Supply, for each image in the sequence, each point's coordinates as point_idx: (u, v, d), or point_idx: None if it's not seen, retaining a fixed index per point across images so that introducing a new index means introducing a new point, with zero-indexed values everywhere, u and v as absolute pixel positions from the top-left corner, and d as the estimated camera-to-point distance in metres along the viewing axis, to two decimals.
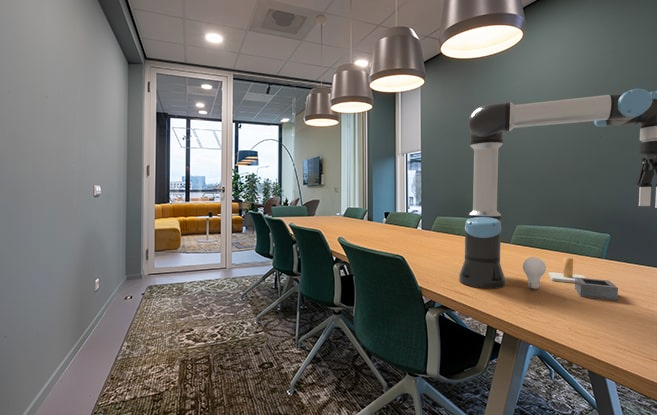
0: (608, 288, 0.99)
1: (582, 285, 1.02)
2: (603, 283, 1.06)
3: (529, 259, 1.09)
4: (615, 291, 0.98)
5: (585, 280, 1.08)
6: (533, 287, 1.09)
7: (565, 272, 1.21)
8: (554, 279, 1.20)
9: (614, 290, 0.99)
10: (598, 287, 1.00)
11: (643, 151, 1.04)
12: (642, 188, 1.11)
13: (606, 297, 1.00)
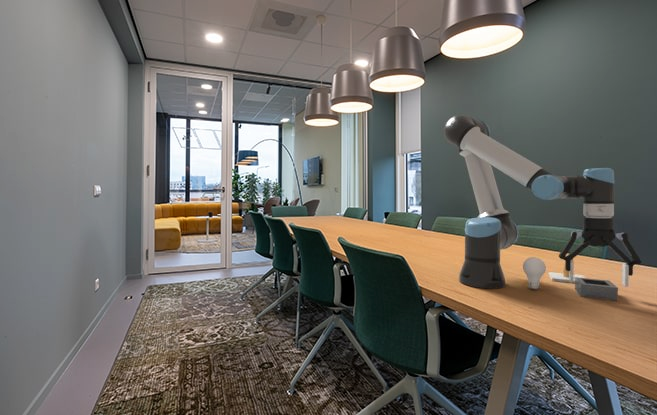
0: (608, 288, 0.99)
1: (582, 285, 1.02)
2: (603, 283, 1.06)
3: (529, 259, 1.09)
4: (615, 291, 0.98)
5: (585, 280, 1.08)
6: (533, 287, 1.09)
7: (565, 272, 1.21)
8: (554, 279, 1.20)
9: (614, 290, 0.99)
10: (598, 287, 1.00)
11: None
12: (623, 265, 1.01)
13: (606, 297, 1.00)
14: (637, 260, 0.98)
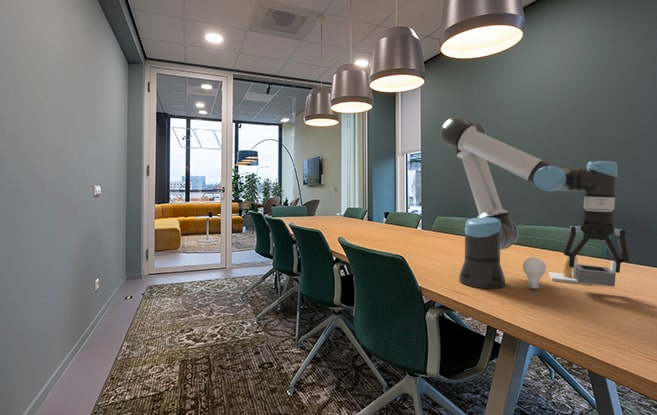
0: (606, 274, 0.99)
1: (580, 271, 1.02)
2: (601, 270, 1.06)
3: (529, 259, 1.09)
4: (613, 277, 0.99)
5: (583, 266, 1.08)
6: (533, 287, 1.09)
7: (565, 272, 1.21)
8: (554, 279, 1.20)
9: (612, 276, 0.99)
10: (596, 273, 1.01)
11: None
12: None
13: (603, 283, 1.00)
14: (625, 258, 1.00)
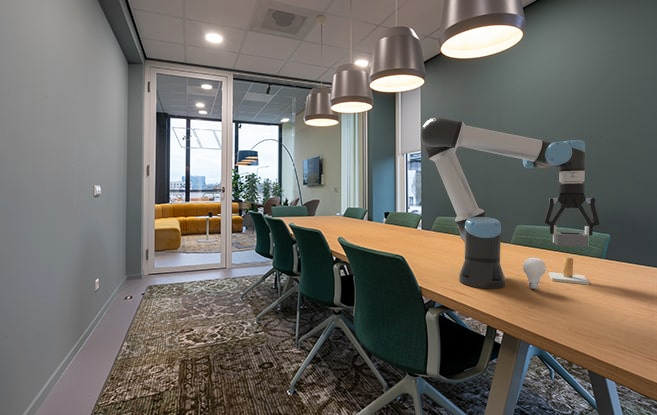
0: (580, 236, 1.16)
1: (558, 235, 1.19)
2: (577, 235, 1.22)
3: (529, 259, 1.09)
4: (586, 238, 1.15)
5: (562, 233, 1.24)
6: (533, 287, 1.09)
7: (565, 272, 1.21)
8: (554, 279, 1.20)
9: (585, 238, 1.15)
10: (572, 236, 1.17)
11: None
12: (585, 227, 1.19)
13: (578, 244, 1.16)
14: (596, 222, 1.16)
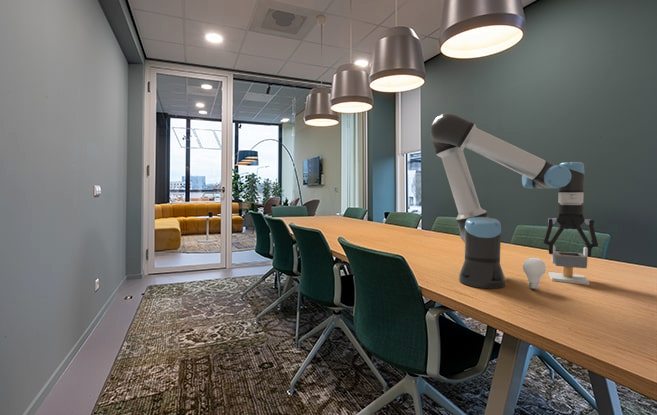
0: (579, 258, 1.16)
1: (557, 256, 1.19)
2: (576, 255, 1.23)
3: (529, 259, 1.09)
4: (585, 260, 1.16)
5: (561, 253, 1.25)
6: (533, 287, 1.09)
7: (565, 272, 1.21)
8: (554, 279, 1.20)
9: (584, 259, 1.16)
10: (570, 257, 1.18)
11: None
12: (583, 248, 1.20)
13: (577, 265, 1.17)
14: (595, 243, 1.17)
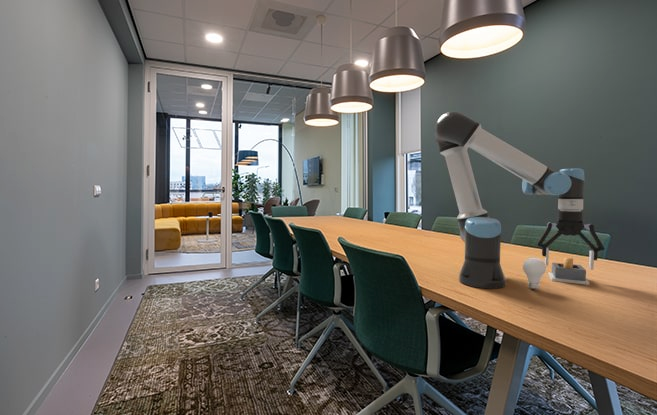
0: (578, 270, 1.17)
1: (556, 268, 1.20)
2: (575, 267, 1.23)
3: (529, 259, 1.09)
4: (584, 273, 1.16)
5: (560, 265, 1.25)
6: (533, 287, 1.09)
7: None
8: (554, 279, 1.20)
9: (583, 272, 1.16)
10: (570, 270, 1.18)
11: None
12: None
13: (576, 278, 1.17)
14: (601, 247, 1.16)
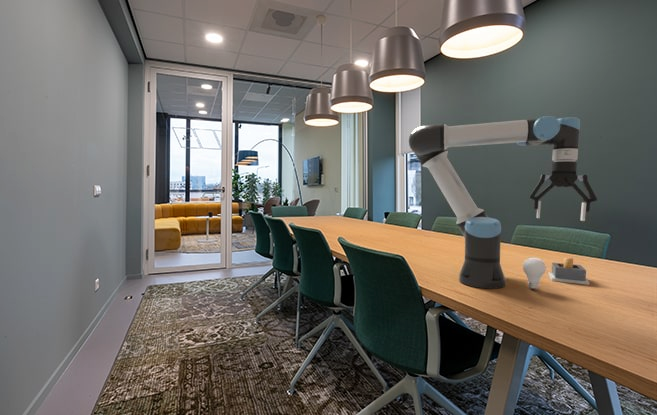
0: (578, 270, 1.17)
1: (556, 268, 1.20)
2: (575, 267, 1.23)
3: (529, 259, 1.09)
4: (584, 273, 1.16)
5: (560, 265, 1.25)
6: (533, 287, 1.09)
7: None
8: (554, 279, 1.20)
9: (583, 272, 1.16)
10: (570, 270, 1.18)
11: None
12: (582, 203, 1.17)
13: (576, 278, 1.17)
14: (593, 198, 1.14)
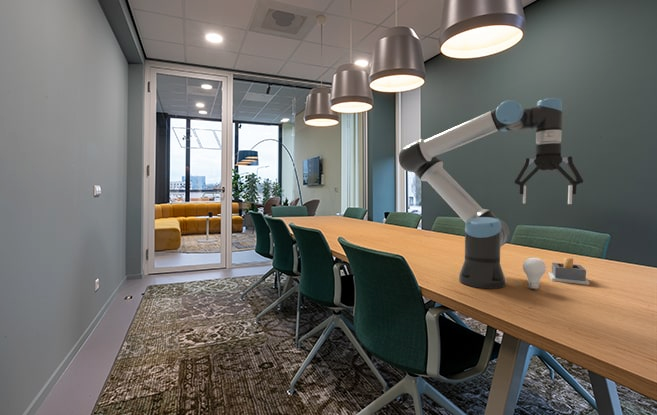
0: (578, 270, 1.17)
1: (556, 268, 1.20)
2: (575, 267, 1.23)
3: (529, 259, 1.09)
4: (584, 273, 1.16)
5: (560, 265, 1.25)
6: (533, 287, 1.09)
7: None
8: (554, 279, 1.20)
9: (583, 272, 1.16)
10: (570, 270, 1.18)
11: None
12: (568, 186, 1.13)
13: (576, 278, 1.17)
14: (580, 180, 1.10)
